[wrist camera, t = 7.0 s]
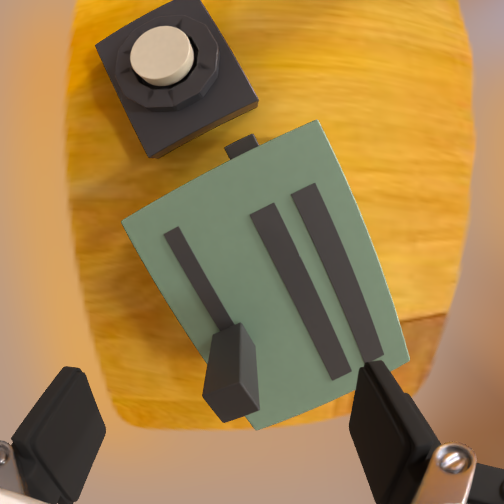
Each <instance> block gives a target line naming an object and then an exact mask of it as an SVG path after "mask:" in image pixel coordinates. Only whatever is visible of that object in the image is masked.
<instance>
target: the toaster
mask: <svg viewBox="0 0 504 504" xmlns="http://www.w3.org/2000/svg"><path fill="white" fill-rule="evenodd" d="M225 151H226V153H227V155H228V157H229V158H230V160H229V161H227V162H225V163H223V164H222V165H220V166H218V167H216V168H214V169H212V170H210V171H208V172H206V173H204V174H202V175H201V176H199V177H197V178H195V179H193V180H191V181H189V182H188V183H186V184H184V185H182V186H180V187H179V188H177V189H175V190H173V191H171V192H170V193H168V194H166V195H164V196H163V197H161V198H159V199H157V200H156V201H154V202H152V203H150V204H149V205H147V206H145V207H144V208H142V209H140V210H138V211H137V212H135V213H133V214H132V215H130V216H128V217H127V218H125V219H124V220H122V221H121V223H122V225H123V227H124V229H125V231H126V233H127V235H128V236H129V238H130V240H131V242H132V244H133V246H134V247H135V249H136V251H137V253H138V254H139V256H140V258H141V260H142V261H143V263H144V265H145V267H146V268H147V270H148V272H149V274H150V275H151V277H152V279H153V280H154V282H155V284H156V285H157V287H158V289H159V290H160V292H161V294H162V295H163V297H164V299H165V300H166V302H167V303H168V305H169V307H170V308H171V310H172V311H173V313H174V315H175V316H176V318H177V319H178V321H179V322H180V324H181V326H182V327H183V329H184V330H185V332H186V333H187V335H188V336H189V338H190V339H191V341H192V342H193V344H194V345H195V347H196V348H197V350H198V351H199V353H200V354H201V356H202V357H203V359H204V360H205V362H206V363H207V364H208V358H209V352H210V346H211V341H212V335H213V334H215V333H218V332H220V331H222V330H224V329H227V328H229V327H231V326H233V325H235V324H238V323H240V322H241V323H242V324H243V326H244V328H245V329H246V331H247V333H248V334H249V336H250V338H251V339H252V341H253V343H254V344H255V346H256V360H257V374H258V388H259V402H260V410H259V411H257V412H254V413H251V414H249V415H246V416H245V417H246V418H247V420H248V421H249V422H250V424H251V425H252V426H253V427H254V429H255V430H260V429H263V428H265V427H268V426H271V425H274V424H276V423H279V422H282V421H284V420H287V419H289V418H292V417H294V416H297V415H299V414H302V413H304V412H307V411H309V410H312V409H314V408H316V407H319V406H321V405H323V404H325V403H328V402H330V401H332V400H334V399H337V398H339V397H341V396H343V395H345V394H347V393H349V392H351V391H354V390H356V384H357V378H358V372H359V368H360V367H364V364H365V363H366V362H371V361H378V360H382V361H383V362H384V363H385V365H386V366H387V368H388V369H389V371H390V372H391V371H392V370H394V369H396V368H398V367H400V366H401V365H403V364H405V363H407V362H408V361H410V358H409V354H408V350H407V347H406V343H405V340H404V336H403V333H402V329H401V326H400V323H399V319H398V316H397V313H396V310H395V307H394V303H393V300H392V297H391V294H390V291H389V288H388V285H387V282H386V279H385V276H384V274H383V271H382V268H381V265H380V262H379V260H378V257H377V254H376V251H375V249H374V246H373V243H372V241H371V238H370V235H369V233H368V230H367V228H366V225H365V223H364V220H363V218H362V215H361V213H360V210H359V208H358V206H357V203H356V201H355V198H354V196H353V194H352V191H351V189H350V187H349V184H348V182H347V180H346V178H345V175H344V173H343V171H342V169H341V167H340V164H339V162H338V160H337V158H336V156H335V154H334V151H333V149H332V147H331V145H330V143H329V141H328V139H327V137H326V135H325V133H324V131H323V129H322V127H321V125H320V123H319V121H318V120H314V121H312V122H310V123H307V124H305V125H303V126H301V127H298V128H296V129H294V130H292V131H290V132H287V133H285V134H283V135H281V136H279V137H277V138H274V139H272V140H270V141H268V142H266V143H264V144H262V145H260V146H259V144H258V142H257V140H256V138H255V136H254V134H250V135H248V136H246V137H244V138H242V139H240V140H238V141H236V142H234V143H232V144H230V145H228V146H226V147H225Z"/></svg>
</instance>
